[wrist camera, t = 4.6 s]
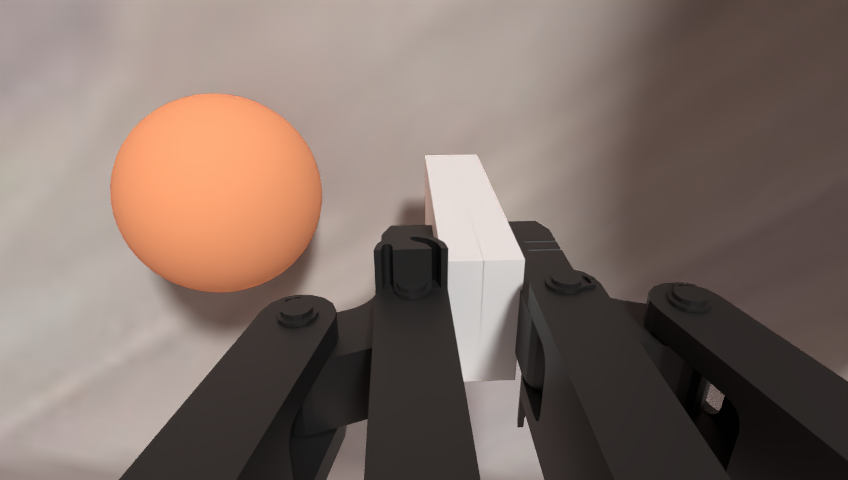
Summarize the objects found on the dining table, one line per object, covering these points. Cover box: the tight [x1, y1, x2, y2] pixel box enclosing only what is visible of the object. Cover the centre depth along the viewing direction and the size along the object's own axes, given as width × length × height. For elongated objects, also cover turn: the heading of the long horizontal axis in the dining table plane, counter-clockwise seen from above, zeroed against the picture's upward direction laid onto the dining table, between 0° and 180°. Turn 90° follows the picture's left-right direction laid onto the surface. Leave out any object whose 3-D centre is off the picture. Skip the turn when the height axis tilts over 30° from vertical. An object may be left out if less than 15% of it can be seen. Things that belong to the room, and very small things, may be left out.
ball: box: [110, 94, 322, 293], centre depth 15 cm, size 6×6×6 cm
